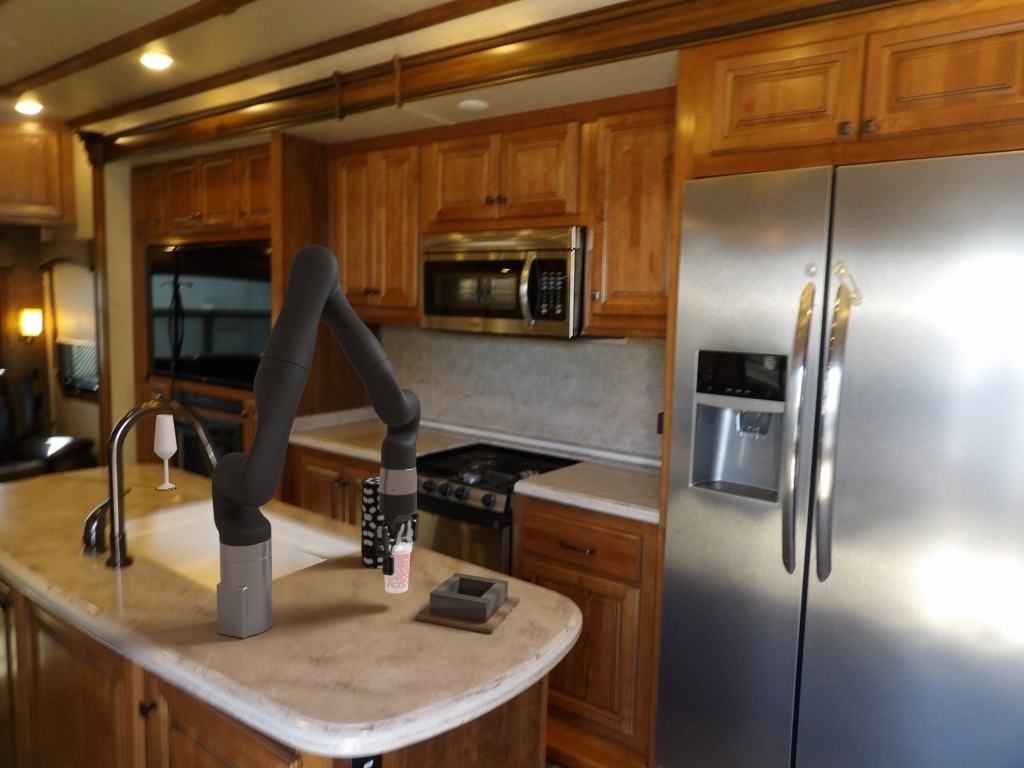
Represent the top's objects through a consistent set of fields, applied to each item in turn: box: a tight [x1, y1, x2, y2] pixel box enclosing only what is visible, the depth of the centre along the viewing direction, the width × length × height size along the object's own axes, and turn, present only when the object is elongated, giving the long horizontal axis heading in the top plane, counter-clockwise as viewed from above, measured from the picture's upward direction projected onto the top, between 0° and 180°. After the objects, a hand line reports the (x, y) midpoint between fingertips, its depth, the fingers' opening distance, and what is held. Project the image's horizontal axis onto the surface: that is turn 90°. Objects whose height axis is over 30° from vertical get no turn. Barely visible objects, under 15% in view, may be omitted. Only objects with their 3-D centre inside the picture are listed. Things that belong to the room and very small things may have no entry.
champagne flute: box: [153, 414, 178, 489], centre depth 236 cm, size 7×7×24 cm
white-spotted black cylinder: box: [360, 475, 394, 569], centre depth 173 cm, size 8×8×20 cm
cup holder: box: [415, 572, 521, 635], centre depth 147 cm, size 16×16×5 cm
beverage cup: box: [384, 542, 413, 594], centre depth 148 cm, size 6×6×14 cm
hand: (396, 569), depth 148 cm, fingers closed on beverage cup, 6 cm apart
